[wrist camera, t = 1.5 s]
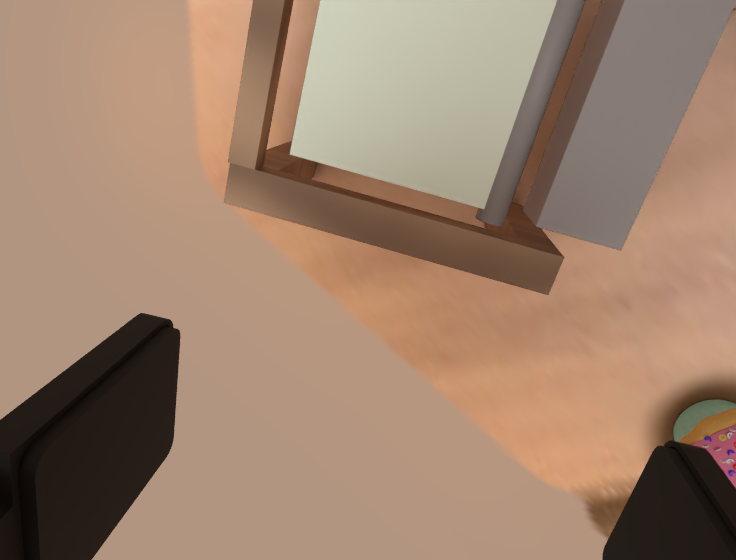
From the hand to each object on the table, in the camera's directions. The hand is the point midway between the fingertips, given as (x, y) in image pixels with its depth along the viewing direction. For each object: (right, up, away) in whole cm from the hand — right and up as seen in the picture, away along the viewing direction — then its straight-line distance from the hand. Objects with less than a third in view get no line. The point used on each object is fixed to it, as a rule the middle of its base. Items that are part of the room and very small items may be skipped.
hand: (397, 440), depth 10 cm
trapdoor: (+5, +12, +12) cm, 18 cm away
